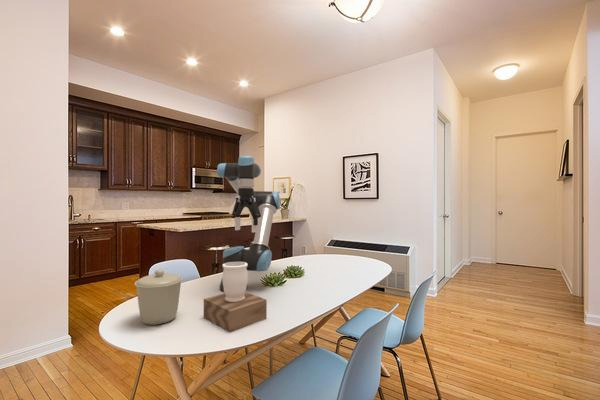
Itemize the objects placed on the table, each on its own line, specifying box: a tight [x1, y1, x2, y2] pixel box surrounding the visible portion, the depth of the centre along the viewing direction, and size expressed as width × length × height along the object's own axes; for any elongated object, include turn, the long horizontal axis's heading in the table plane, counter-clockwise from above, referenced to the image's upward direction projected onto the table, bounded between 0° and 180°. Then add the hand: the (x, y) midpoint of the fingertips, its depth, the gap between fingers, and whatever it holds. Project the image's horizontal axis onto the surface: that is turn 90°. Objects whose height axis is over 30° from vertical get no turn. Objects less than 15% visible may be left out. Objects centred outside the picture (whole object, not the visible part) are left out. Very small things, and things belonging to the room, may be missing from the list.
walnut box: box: [203, 291, 268, 333], centre depth 125 cm, size 20×18×8 cm
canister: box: [134, 268, 184, 326], centre depth 123 cm, size 18×18×21 cm
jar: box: [221, 262, 249, 302], centre depth 125 cm, size 11×10×15 cm
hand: (245, 231), depth 145 cm, fingers open, 13 cm apart
